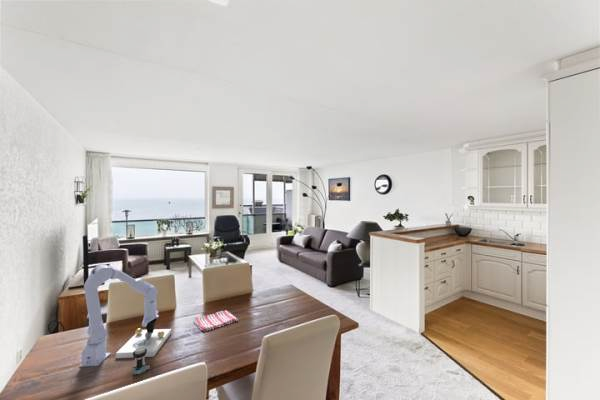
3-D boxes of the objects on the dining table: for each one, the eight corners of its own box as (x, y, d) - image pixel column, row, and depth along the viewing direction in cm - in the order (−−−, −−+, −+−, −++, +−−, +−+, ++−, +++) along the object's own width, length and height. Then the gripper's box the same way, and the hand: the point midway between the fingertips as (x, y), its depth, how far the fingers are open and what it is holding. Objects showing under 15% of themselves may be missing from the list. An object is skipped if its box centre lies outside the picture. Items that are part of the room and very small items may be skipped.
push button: (149, 366, 115) (150, 344, 115) (149, 373, 111) (150, 350, 111) (132, 370, 112) (133, 347, 112) (131, 377, 107) (132, 354, 108)
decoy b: (162, 338, 134) (162, 332, 134) (156, 339, 133) (156, 333, 133) (165, 335, 137) (165, 329, 137) (158, 335, 136) (159, 329, 136)
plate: (153, 356, 122) (153, 351, 122) (115, 358, 120) (116, 353, 120) (171, 333, 144) (171, 328, 144) (139, 334, 142) (139, 329, 142)
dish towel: (192, 322, 159) (192, 317, 159) (227, 312, 174) (227, 307, 174) (202, 333, 146) (202, 327, 146) (239, 322, 161) (239, 316, 161)
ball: (150, 339, 134) (149, 336, 132) (144, 339, 134) (143, 336, 132) (153, 333, 137) (152, 330, 135) (147, 333, 136) (146, 330, 135)
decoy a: (140, 335, 136) (140, 329, 136) (134, 336, 136) (134, 330, 136) (143, 332, 139) (143, 327, 139) (137, 333, 139) (137, 327, 139)
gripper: (152, 313, 129) (152, 340, 129) (163, 302, 144) (163, 325, 144) (137, 314, 128) (137, 341, 128) (150, 302, 143) (150, 326, 143)
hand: (150, 333), depth 136 cm, fingers closed
